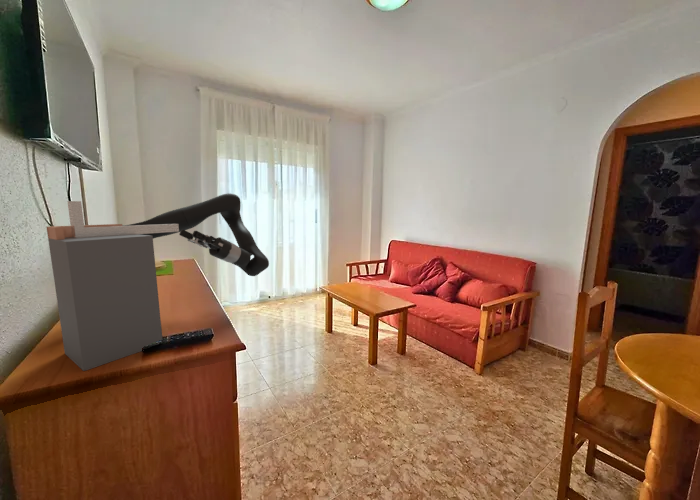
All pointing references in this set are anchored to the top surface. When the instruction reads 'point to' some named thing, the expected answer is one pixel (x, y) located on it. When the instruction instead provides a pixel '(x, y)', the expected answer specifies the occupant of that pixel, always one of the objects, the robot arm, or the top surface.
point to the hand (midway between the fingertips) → (187, 232)
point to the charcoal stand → (104, 294)
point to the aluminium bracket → (82, 232)
